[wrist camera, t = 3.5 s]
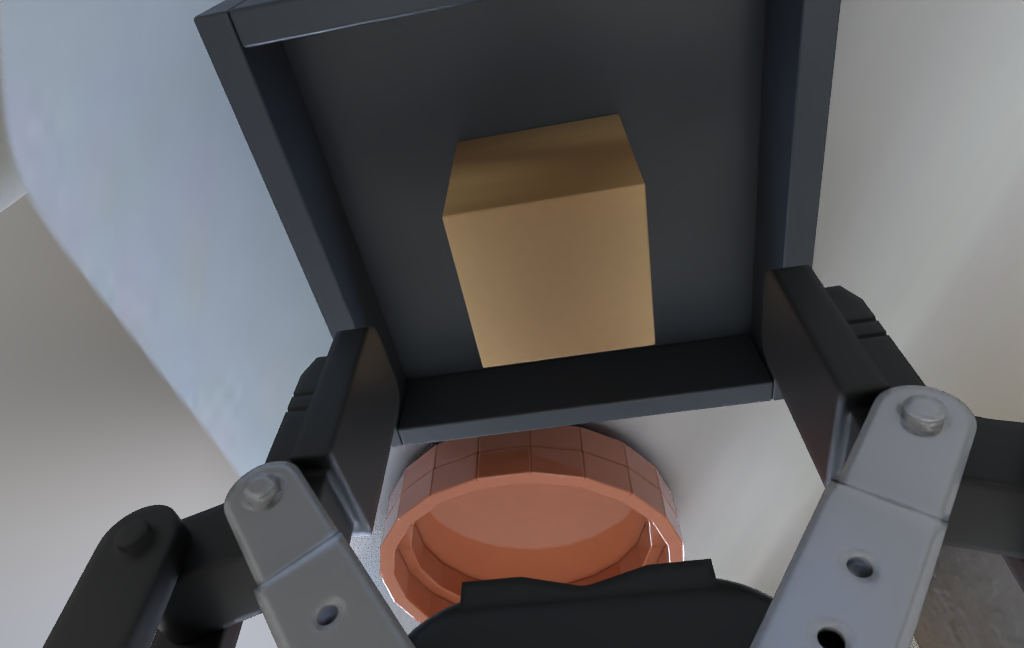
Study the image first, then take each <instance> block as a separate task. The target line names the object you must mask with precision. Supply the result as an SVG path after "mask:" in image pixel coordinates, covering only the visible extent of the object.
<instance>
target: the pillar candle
mask: <svg viewBox="0 0 1024 648" xmlns="http://www.w3.org/2000/svg"><path fill="white" fill-rule="evenodd" d="M914 637H915V639H916V641H917V643H918V645H919V647H920V648H1024V593H1023V591H1022V589H1021V588H1020V586H1019V584H1018V583H1017V581H1016V579H1015V577H1014V576H1013V574H1012V572H1011V571H1010V569H1009V567H1008V566H1007V564H1006V562H1005V560H1004V559H1003V557H1002V555H999V554H993V553H987V552H982V551H976V550H970V549H964V548H959V547H953V546H947V545H941V548H940V552H939V555H938V558H937V561H936V565H935V568H934V571H933V574H932V577H931V581H930V584H929V587H928V590H927V593H926V597H925V600H924V603H923V606H922V610H921V613H920V616H919V619H918V622H917V626H916V629H915V632H914Z"/></svg>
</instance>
